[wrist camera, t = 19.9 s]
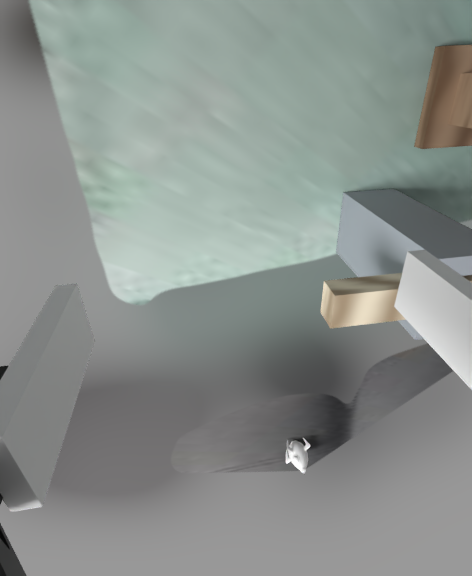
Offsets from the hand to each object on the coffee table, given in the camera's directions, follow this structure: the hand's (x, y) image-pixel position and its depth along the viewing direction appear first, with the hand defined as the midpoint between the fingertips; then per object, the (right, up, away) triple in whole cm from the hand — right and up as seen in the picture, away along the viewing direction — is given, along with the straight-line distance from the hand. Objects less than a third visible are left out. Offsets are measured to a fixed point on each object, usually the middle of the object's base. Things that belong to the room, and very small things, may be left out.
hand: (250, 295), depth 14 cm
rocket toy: (+13, -36, +70) cm, 80 cm away
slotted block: (+20, +11, +42) cm, 48 cm away
